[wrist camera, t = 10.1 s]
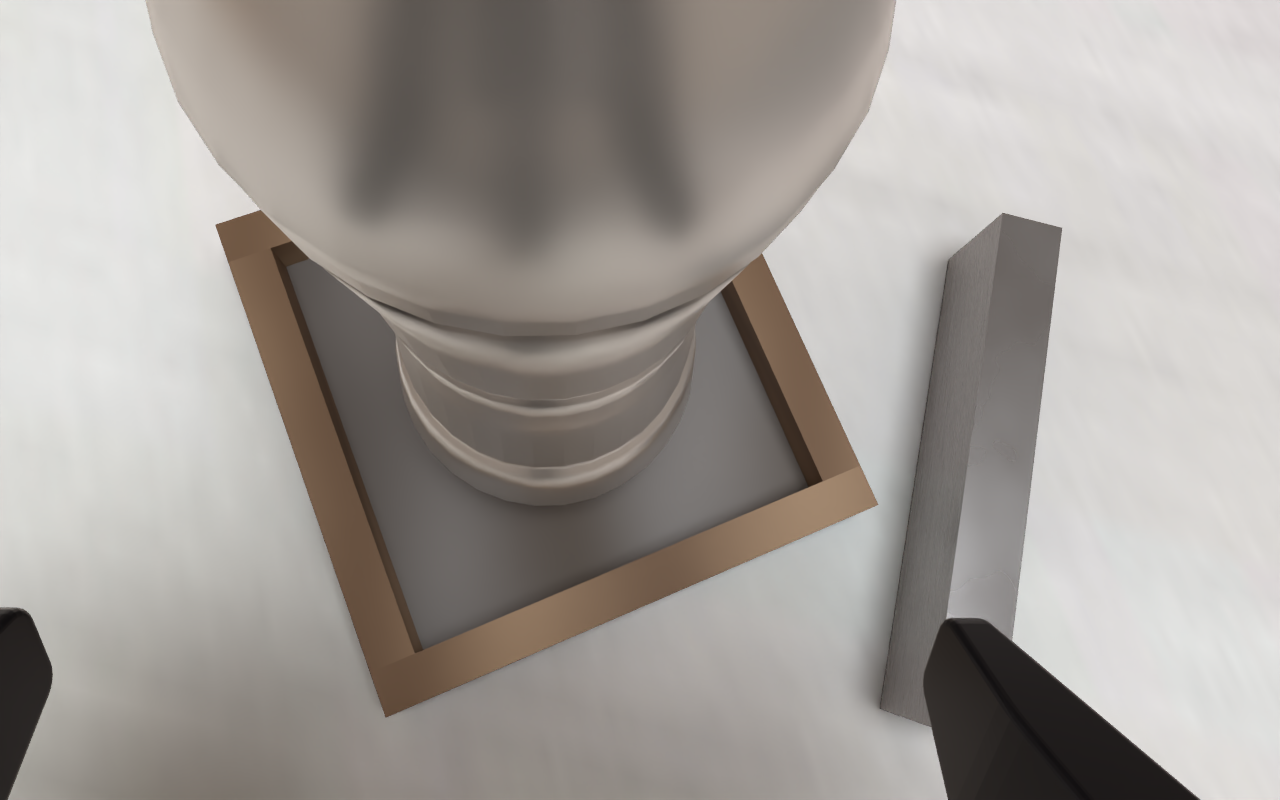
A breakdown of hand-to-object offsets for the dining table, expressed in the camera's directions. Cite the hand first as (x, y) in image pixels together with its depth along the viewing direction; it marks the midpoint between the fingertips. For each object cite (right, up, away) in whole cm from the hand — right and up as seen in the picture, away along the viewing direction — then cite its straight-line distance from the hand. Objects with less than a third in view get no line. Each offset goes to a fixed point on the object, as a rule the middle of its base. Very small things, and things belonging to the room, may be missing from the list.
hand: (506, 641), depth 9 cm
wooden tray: (-1, +3, +13) cm, 14 cm away
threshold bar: (+9, 0, +14) cm, 17 cm away
